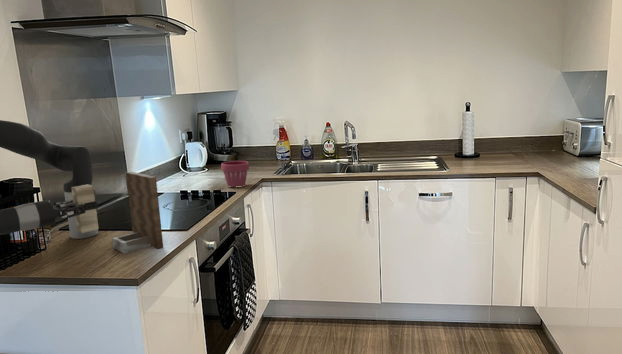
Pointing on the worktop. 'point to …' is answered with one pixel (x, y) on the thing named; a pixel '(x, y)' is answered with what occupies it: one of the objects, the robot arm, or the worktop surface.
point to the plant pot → (235, 172)
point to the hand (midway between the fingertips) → (93, 203)
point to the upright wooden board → (141, 215)
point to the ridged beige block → (89, 218)
